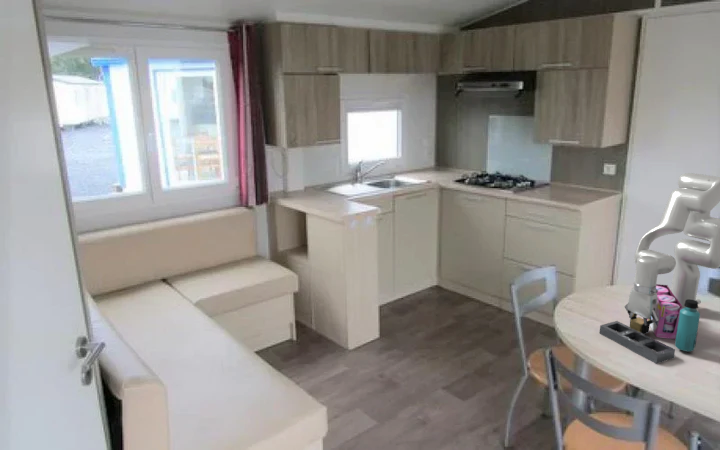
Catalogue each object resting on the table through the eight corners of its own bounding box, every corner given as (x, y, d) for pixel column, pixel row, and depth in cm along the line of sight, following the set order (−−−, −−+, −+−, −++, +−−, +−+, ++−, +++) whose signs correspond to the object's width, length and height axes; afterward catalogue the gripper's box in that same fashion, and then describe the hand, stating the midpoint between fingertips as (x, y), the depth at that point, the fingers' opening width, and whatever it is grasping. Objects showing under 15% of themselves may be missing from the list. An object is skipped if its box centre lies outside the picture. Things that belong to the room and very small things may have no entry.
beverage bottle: (694, 357, 189) (703, 306, 183) (672, 352, 192) (681, 302, 187) (694, 349, 194) (703, 299, 189) (673, 344, 198) (681, 295, 192)
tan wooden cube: (637, 327, 210) (639, 317, 209) (647, 332, 206) (649, 321, 205) (629, 330, 208) (630, 319, 207) (639, 335, 204) (640, 324, 203)
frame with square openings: (615, 328, 211) (617, 320, 210) (673, 358, 188) (675, 349, 188) (599, 333, 207) (600, 325, 206) (656, 363, 185) (657, 355, 184)
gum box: (679, 341, 200) (685, 309, 196) (656, 339, 202) (661, 307, 198) (663, 314, 222) (667, 284, 218) (642, 312, 224) (646, 283, 220)
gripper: (671, 293, 196) (664, 337, 201) (632, 278, 211) (627, 319, 216) (657, 297, 193) (651, 342, 198) (619, 281, 208) (614, 323, 213)
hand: (638, 329), depth 207 cm, fingers closed on tan wooden cube, 4 cm apart
